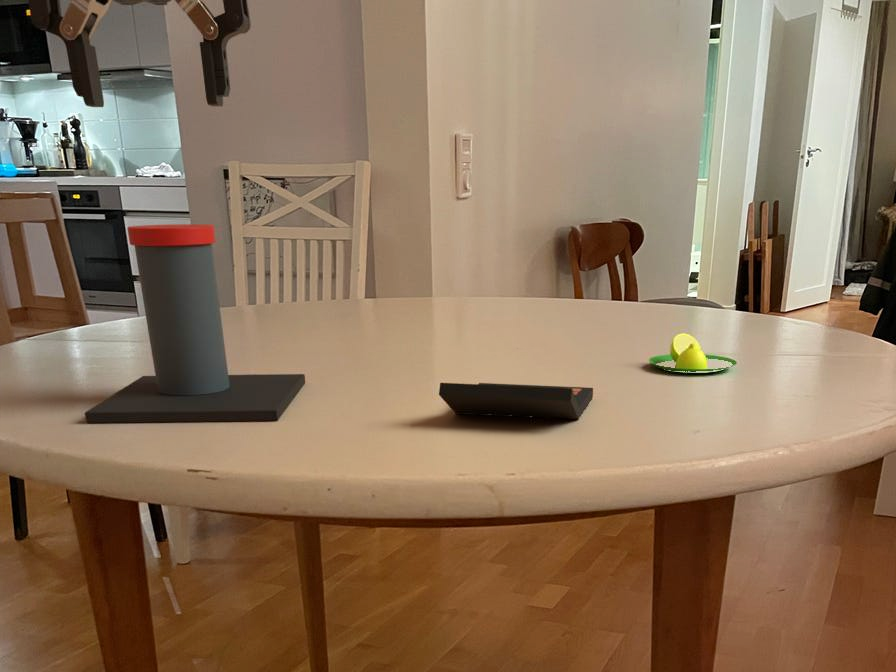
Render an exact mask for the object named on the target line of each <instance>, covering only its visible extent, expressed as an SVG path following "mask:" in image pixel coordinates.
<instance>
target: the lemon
mask: <svg viewBox="0 0 896 672" xmlns="http://www.w3.org/2000/svg"><path fill="white" fill-rule="evenodd" d="M669 353H670V354H661V355H660V354H659V355H656V356H652V357H650V358H649V359H648V362H649V363H651V364H652V365H654V366H656V367H657V368H659V369H660V368H662V369H665V370H671V371H685V372H686V371H687V372H688V371H690V372H696V371H713V370H721V369H726V368H728V369H730V368H732V367H734V366H736V365H737V364H738V363H737V361H736V360H735V359H733V358H730V357H725V356H719V355H714V354H705V353H704V352H703V350H702V349H701V346H700V343H699V341H697V339H696V338H695V337H693V336H692V335H691V334H688V333H678V334H677V335H675V336H674V337H673V338H672V341H671V344H670V347H669ZM706 358H708V359H718V360H724V361H728V362H731V363H732V364H733V366H731V367H730V368H729V367H726V368H718V369H706V368H707V359H706ZM672 360H674V362H676V365H675V368H671V367H664V366H659V365H656V364H657V363H661V362H665V361H672ZM662 369H661V370H662ZM665 370H664V371H665ZM726 370H727V369H726Z"/></svg>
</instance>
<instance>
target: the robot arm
mask: <svg viewBox="0 0 896 672" xmlns="http://www.w3.org/2000/svg"><path fill="white" fill-rule="evenodd" d="M112 1H113V2H115V3H118V4H119V5H121V6H135V5H137V4H140V3H141V4H142V3H148V4H151V5H155V6H168V3H170V2H172V0H70V2H69V4H68V5H67V8H66V10H65V12H64V15H63V16H62V7H61V0H28V6H29V15H30V21H31V23H32V25H33V26H34V27H35V28H36V29H39V30H41V31H44V32H47V33H49V34H51V35H55V36H57V37H59V39H61V40H62V41H63V43H64V45H65V47H66V48H65V49H66V54H67V60H68V65H69V71H70V77H71V83H72V88H73V90H74V92H75V94H76V96H77V97H81V98H82V100H83V103H84V105H85V106H87V107H90V108H104V106H105V100H104V94H103V87H102V80H101V76H100V69H99V62H98V56H97V50H96V46H94V45H91V39H92V36H93V35H94V33H95V31H96V29H97V26H98V24H99V22H100V20H101V19H102V18H104V16H105V15H106V14H107V12H108V10H109V8H110V6H111V3H112ZM174 1H175V3H176V4H177V5H178V7H179V8H180V9H181V10H182V11H183V12H184V13H185V15H186V16H187V17H188V18H189V20H190V21H191V22H192V24H193V25H194V26H195V28H196V29H197V30H198V31H199V33H200V34H201V36H202V41H199V49H200V50H199V51H200V58H201V66H202V75H203V84H204V92H205V99H206V103H207V105H208V106H210V107H223V106H224V98H226V97H227V98H228V97H229V96H230V92H231V81H230V73H229V71H230V70H229V64H228V54H227V45H228V43H229V41H230V40H231V39H233V38H234V37H236V36H239V35H243V34H244V35H245V34H247V33H248V32H249V31H250V30H251V26H252V24H251V18H250V17H251V16H250V10H249V4H248V0H222V3H223V10H224V12H223V13H220V14H218V15H216V16H215V15H214V14H213V12H212V10H211V9H210V7H208V5H207V4H206V2H205V1H204V0H174Z"/></svg>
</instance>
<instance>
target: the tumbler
mask: <svg viewBox="0 0 896 672" xmlns="http://www.w3.org/2000/svg"><path fill="white" fill-rule="evenodd" d="M126 228H127V235H128V241H129V245H131V246H134V252H135V259H136V263H137V264H136V265H137V271H138V276H139V283H140V289H141V295H142V302H143V307H144V314H145V319H146V326H147V331H148V336H149V343H150V344H149V345H150V350H151V351H150V352H151V357H152V364H153V369H154V374H155V375H154V376H156V382H157V388H158V392H159V393H161V394H165V395H172V396H196V395H206V394H213V393H218V392H221V391H224V390H227V389H228V388H229V387H230V384H229V376H228V375H229V369H228V362H227V361H228V360H227V354H226V345H225V338H224V330H223V329H224V328H223V321H222V314H221V306H220V305H221V304H220V299H219V289H218V283H217V275H216V267H215V259H214V251H213V244H215V243H216V235H215V234H216V233H215V227H214V225H213V224H191V223H189V224H187V223H185V224H183V223H182V224H148V225H147V224H145V225H144V224H143V225H132V226H128V227H126Z"/></svg>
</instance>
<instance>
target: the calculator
mask: <svg viewBox="0 0 896 672" xmlns="http://www.w3.org/2000/svg"><path fill="white" fill-rule="evenodd" d="M438 396H439V397H440V399H442V400H443V402H445V404H446V405H447V406H448V407H449V408H450V409H451V410H452V412H454V414H456V413H473V414H472V415H476V414H491V415H490V416H495V415H512V416H511V417H514V416H532V417H531V418H534V417H550V418H549V419H553V418H568V419H567V420H573V419H579V417H580V416H581V414H582V413H583V411H584V410H585V408H586V407H587V405H588V404H589V402H590V401H591V399H592V398H594V387H586V386H585V387H583V386H560V385H559V386H557V385H538V384H516V383H515V384H513V383H493V382H492V383H491V382H489V383H488V382H479V383H457V382H456V383H455V382H452V383H451V382H439V390H438ZM592 400H593V399H592ZM591 402H592V401H591ZM591 402H590V403H591ZM589 405H590V404H589ZM589 405H588V406H589ZM587 408H588V407H587ZM587 408H586V409H587ZM585 411H586V410H585ZM585 411H584V412H585ZM583 414H584V413H583ZM583 414H582V415H583ZM581 417H582V416H581ZM581 417H580V418H581ZM579 420H580V419H579Z"/></svg>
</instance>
